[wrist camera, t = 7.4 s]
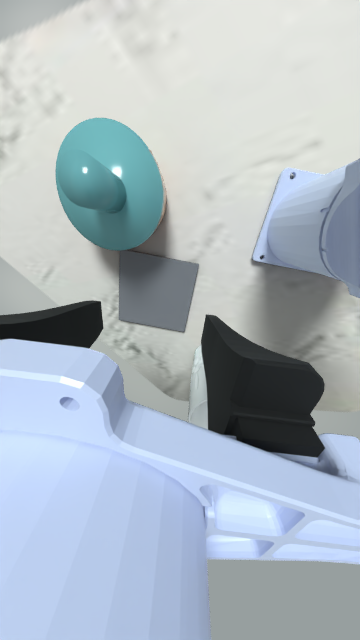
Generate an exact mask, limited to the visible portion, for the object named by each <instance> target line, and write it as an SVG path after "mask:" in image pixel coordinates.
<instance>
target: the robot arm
mask: <svg viewBox="0 0 360 640" xmlns="http://www.w3.org/2000/svg"><path fill="white" fill-rule="evenodd" d="M291 173H292V174H293V175H294V178H293V179H292V180H291V179H290V174H291ZM261 255H264V258H263V259H260V256H261ZM252 259H253V260H254V261H257V262H263V263H268V264H273V265H278V266H283V267H288V268H293V269H298V270H304V271H309V272H314V273H319V274H322V275H325V276H328V277H331V278H334V279H337V280H340V281H343V282H344V283H345V284H346V285H347V286H348V289H349V294H350V295H353V296H355V297H358V298H360V159H358V160H356V161H354V162H352V163H350V164H348V165H345V166H343V167H341V168H339V169H336V170H334V171H332V172H330V173H327V174H325V175H323V174H318V173H313V172H308V171H303V170H298V169H293V168H286V169H284V170H283V171H282V172H281V174H280V177H279V180H278V183H277V185H276V188H275V191H274V194H273V197H272V200H271V203H270V206H269V209H268V212H267V214H266V217H265V220H264V223H263V226H262V229H261V232H260V235H259V238H258V241H257V243H256V246H255V249H254V252H253V255H252ZM102 329H103V320H102V310H101V302H100V301H83V302H79V303H74V304H70V305H66V306H61V307H57V308H52V309H47V310H42V311H36V312H29V313H22V314H11V315H0V640H211V630H210V610H209V590H208V573H207V572H208V571H207V559H232V560H234V559H235V560H295V561H296V560H297V561H324V562H338V563H339V562H340V563H351V564H360V441H359V440H358V439H357V438H356V437H354V436H346V435H339V434H331V433H325V434H320V435H318V436H317V434H316V432H315V431H314V429H313V428H312V426H314V425H315V421H314V420H313V418H312V417H311V415H310V413H311V412H312V410H313V409H314V407H315V406H316V404H317V403H318V401H319V400H320V398H321V396H322V394H323V392H324V382H323V379H322V377H321V376H320V375H319V374H318V373H317V372H316V371H315V369H314V368H313V367H312V366H311V365H310V364H309V363H307V362H304V361H300V360H297V359H293V358H290V357H286V356H284V355H281V354H278V353H275V352H273V351H270V350H268V349H265V348H263V347H261V346H259V345H257V344H255V343H253V342H251V341H249V340H248V339H246V338H244V337H243V336H241V335H239V334H238V333H237V332H235V331H234V330H233V329H231V328H230V327H229V326H228V325H226V324H225V323H224V322H223V321H222V320H220V319H219V318H218V317H217V316H214V315H206V318H205V323H204V329H203V334H202V339H201V352H202V358H203V364H204V370H205V376H206V385H207V408H208V429H205V428H202V427H200V426H197V425H194V424H191V423H189V422H186V421H183V420H181V419H178V418H175V417H173V416H170V415H167V414H165V413H162V412H159V411H156V410H154V409H151V408H148V407H146V406H143V405H140V404H138V403H134V402H132V401H129V400H128V399H126V398H125V394H124V385H123V377H122V374H121V371H120V369H119V366H118V365H117V364H116V363H115V362H114V361H112V360H111V359H110V358H109V357H108V356H106V354H104V353H100V352H98V351H95V350H92V349H89V348H90V347H91V345H92V344H93V343H94V342H95V341H96V339H97V338H98V336H99V335H100V333H101V331H102Z"/></svg>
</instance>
